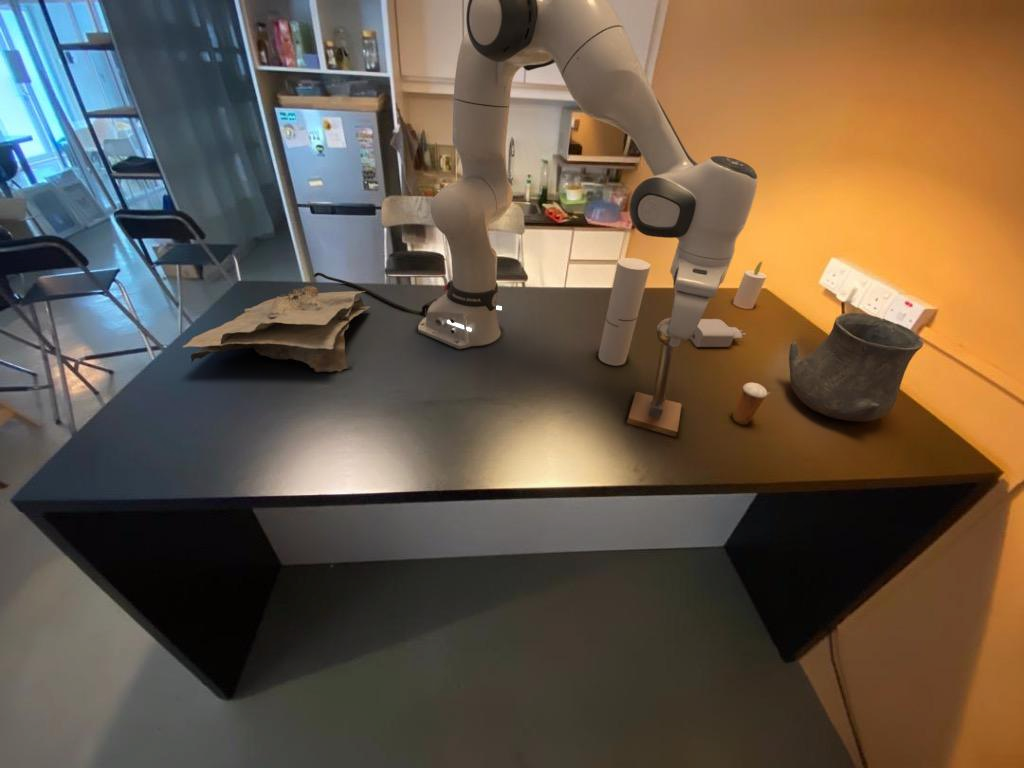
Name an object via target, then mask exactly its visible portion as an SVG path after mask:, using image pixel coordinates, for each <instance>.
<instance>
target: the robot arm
mask: <svg viewBox="0 0 1024 768" xmlns="http://www.w3.org/2000/svg"><path fill="white" fill-rule="evenodd" d="M466 6H467V7H466V15H465V17H466V18H465V19H466V20H465V21H466V31H467V33H465V35H464V36H463V38H462V40H461V42H460V46H459V50H458V51H459V52H458V56H457V62H456V67H455V68H456V69H455V76H454V86H453V87H454V88H453V106H452V107H453V111H452V136H451V138H452V144H453V146H454V148H455V150H456V151H457V152H458V154H459V159H460V163H461V170H462V176H461V179H458V180H455V181H452V182H449V183H448V184H446V185H445V186H444V187H442V188H441V189H440V190H439V191H438V192H437V193H436V194H435V195H434V196H433V198H432V200H431V204H430V215H431V218H432V220H433V223H434V225H435V227H436V228H437V229H438V231H440V232H441V233H442V234H443V235H444V236H445V238H446V241H447V244H448V248H449V252H450V257H451V273H452V274H451V276H452V278H451V280H449V281H447V283H446V285H444V286H443V292H446V291H447V292H446V293H445V294H443V295H442V296H440V297H439V298H434V299H432V300H431V301H428V302H427V303H425V304H424V305H422V308H421V311H414V310H412V309H409V308H407V307H406V306H403V305H400V304H398V303H396V302H393V301H391V300H389V299H387V298H385V297H383V296H381V295H379V294H377V293H376V292H373V291H372V290H369V289H367V288H365V287H363V286H361V285H358V284H356V283H353V282H350V281H347V280H343V279H340V278H336V277H332V276H328V275H326V274H325V273H322V272H315V273H314V274H313V277H314V278H317V277H318V276H319V277H323V278H324V279H326V280H329V281H332V282H336V283H340V284H344V285H347V286H350V287H352V288H356V289H358V290H360V291H365V292H364V293H367V294H369V295H371V296H373V297H374V298H377V299H379V300H380V301H382V302H384V303H386V304H389V305H390V306H392V307H394V308H397V309H400V310H402V311H405V312H406V313H411V314H415V315H420V316H422V315H424V314H425V315H426V316H425V317H424V318H422V320H420V322H419V323H418V326H417V328H418V329H417V331H418V333H420V334H422V335H425V336H427V337H428V338H429V337H430V338H432V339H434V340H437V341H439V342H441V343H444V344H445V345H448V346H451V347H453V348H454V349H455V348H456V349H458V350H462V349H466V348H470V347H477V346H478V347H479V346H486V345H489V344H492V343H494V342H496V341H497V340H498V339H499V338H500V337H501V335H502V334H501V333H502V332H501V328H500V325H499V319H498V311H502V306H501V305H498V302H499V284H498V283H497V282H498V281H497V279H498V277H497V276H498V274H497V273H498V254H497V251H496V250H495V249H494V248H493V247H492V245H491V240H490V235H489V229H490V226H491V224H493V223H496V222H497V221H498V220H500V219H501V218H503V217H504V215H505V214H506V213H507V212H508V211H509V209H510V207H511V205H512V203H513V198H514V194H513V188H512V185H511V183H510V182H509V179H508V178H509V177H508V171H507V159H506V157H507V155H506V147H507V145H506V144H507V136H508V135H507V134H508V122H509V114H510V104H511V92H512V84H513V79H514V77H515V75H516V73H517V72H518V71H519V70H520V69H521V68H523V69H524V70H525V71H527V72H528V71H533V70H536V69H539V68H544V67H548V66H551V65H553V64H555V65H556V67H557V69H558V72H559V74H560V75H561V78H562V80H563V82H564V84H565V86H566V88H567V90H568V92H569V94H570V96H571V98H572V99H573V100H574V102H575V103H576V105H577V106H578V107H579V108H580V109H581V110H582V112H583V113H584V114H585V115H586V116H587V117H590V118H592V119H594V120H597V121H599V122H603V123H605V124H609V125H610V126H612V127H614V128H617V129H618V130H620V131H622V132H623V133H625V134H626V135H627V136H628V137H629V138H630V139H631V140H632V141H633V142H634V144H635V145H636V147H637V149H638V151H639V152H640V154H641V156H642V158H643V159H644V161H645V164H646V165H647V167H648V168H649V170H650V172H651V175H652V176H651V177H649V178H647V179H645V180H643V181H642V182H640V183H639V185H637V186H636V188H635V189H634V190H633V192H632V195H631V197H630V200H629V208H628V211H629V217H630V221H631V223H632V224H633V226H634V228H635V229H636V230H637V231H638V232H639V233H641V234H643V235H645V236H648V237H653V238H654V237H655V238H665V239H666V238H667V239H677V240H678V243H677V246H676V249H675V252H674V255H673V259H672V263H671V266H670V269H669V272H670V274H671V277H672V280H673V281H672V282H673V287H672V289H673V290H674V298H673V304H672V308H671V314H670V318H671V319H670V324H669V331H668V333H669V335H670V336H671V338H670V341H669V345H670V346H673V348H679V346H680V344H681V342H682V340H684V341H685V340H686V341H688V340H690V338H691V337H692V335H693V334H694V332H695V330H696V328H697V326H698V324H699V322H700V320H701V319H703V318H702V317H703V316H704V314H705V312H706V309H707V307H708V305H709V302H710V299H712V298H713V299H714V298H715V297H716V295H717V293H718V291H719V287H721V284H723V283H724V281H725V278H726V276H727V273H728V270H729V268H730V266H731V263H732V261H733V258H734V255H735V251H736V243H737V240H738V238H739V236H740V234H741V233H742V232H743V230H744V229H745V226H746V223H747V221H748V218H749V215H750V212H751V209H752V206H753V203H754V200H755V196H756V192H757V188H758V187H757V186H758V174H757V173H756V171H755V169H754V168H753V167H752V166H751V165H749V164H747V163H746V162H744V161H742V160H739V159H736V158H732V157H728V156H724V155H715V156H711V157H709V158H708V159H706V160H704V161H702V162H700V163H697V162H696V161H695V160H694V159H693V158H692V157H691V156H690V155H689V153H688V151H687V149H686V148H685V146H684V144H683V143H682V141H681V139H680V137H679V135H678V134H677V131H676V130H675V128H674V126H673V124H672V122H671V120H670V118H669V117H668V115H667V113H666V112H665V110H664V108H663V105H661V103H660V101H659V100H658V97H657V96H656V94H655V92H654V90H653V87H652V85H651V84H650V82H649V80H648V78H647V76H646V73H645V71H644V69H643V67H642V65H641V63H640V60H639V58H638V56H637V54H636V52H635V49H634V47H633V44H632V42H631V39H630V38H629V35H628V34H627V31H626V30H625V27H624V25H623V23H622V21H621V19H620V17H619V15H618V13H617V12H616V10H615V8H614V6H613V5H612V2H610V0H468V3H467V5H466Z"/></svg>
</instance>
